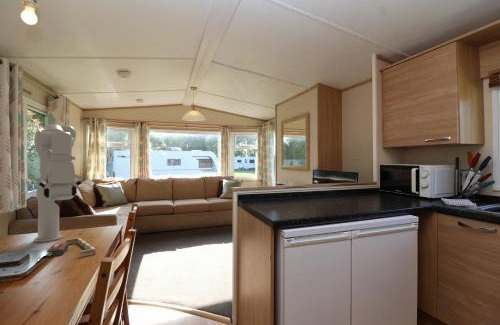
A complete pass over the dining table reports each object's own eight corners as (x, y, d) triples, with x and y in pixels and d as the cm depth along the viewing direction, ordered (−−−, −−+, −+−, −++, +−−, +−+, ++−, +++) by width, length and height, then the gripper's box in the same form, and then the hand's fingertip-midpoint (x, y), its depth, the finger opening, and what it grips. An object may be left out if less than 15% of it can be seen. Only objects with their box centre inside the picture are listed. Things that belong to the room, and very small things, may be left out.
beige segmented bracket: (65, 244, 131) (65, 239, 131) (79, 242, 136) (79, 237, 136) (80, 257, 113) (80, 251, 113) (95, 253, 118) (95, 248, 118)
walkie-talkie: (47, 250, 124) (34, 264, 106) (48, 241, 124) (34, 254, 106) (69, 247, 128) (59, 261, 110) (69, 239, 128) (59, 251, 110)
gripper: (80, 159, 121) (80, 194, 120) (34, 158, 107) (33, 197, 107) (86, 159, 116) (85, 195, 116) (38, 158, 103) (37, 199, 102)
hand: (60, 196), depth 111 cm, fingers open, 9 cm apart
